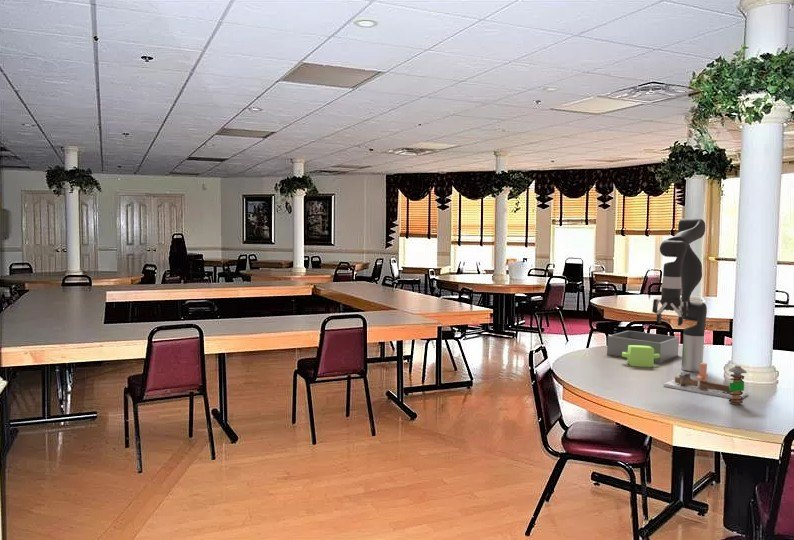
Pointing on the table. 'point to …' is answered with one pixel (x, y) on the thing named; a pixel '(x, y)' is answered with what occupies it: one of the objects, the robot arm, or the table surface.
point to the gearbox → (640, 355)
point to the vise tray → (643, 344)
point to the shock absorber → (736, 384)
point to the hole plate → (701, 389)
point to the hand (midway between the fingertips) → (669, 324)
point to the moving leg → (702, 373)
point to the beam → (685, 378)
